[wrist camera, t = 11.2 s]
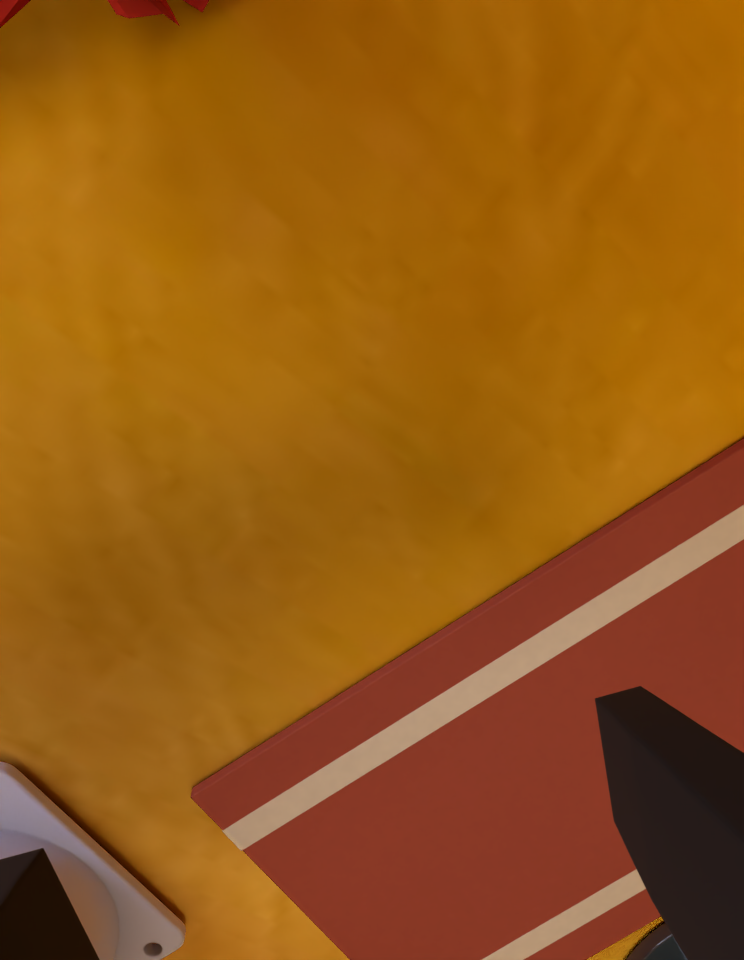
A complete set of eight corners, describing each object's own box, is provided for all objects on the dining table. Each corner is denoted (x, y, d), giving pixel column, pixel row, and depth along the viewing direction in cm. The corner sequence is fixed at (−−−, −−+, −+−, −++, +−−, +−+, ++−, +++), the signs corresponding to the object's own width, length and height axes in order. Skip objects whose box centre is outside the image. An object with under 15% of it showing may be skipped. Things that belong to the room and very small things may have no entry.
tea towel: (432, 1034, 24) (435, 1047, 23) (191, 787, 20) (189, 798, 19) (910, 758, 22) (921, 767, 22) (756, 429, 18) (766, 433, 18)
